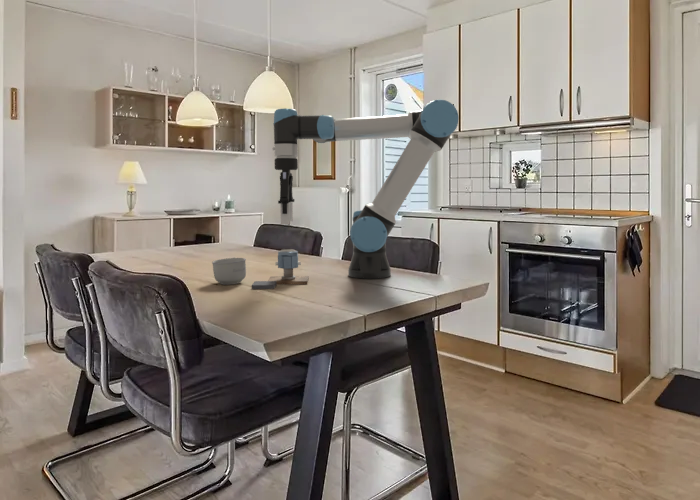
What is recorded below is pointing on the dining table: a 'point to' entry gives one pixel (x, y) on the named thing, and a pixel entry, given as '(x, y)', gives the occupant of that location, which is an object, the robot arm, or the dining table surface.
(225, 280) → the teacup
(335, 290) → the dining table surface
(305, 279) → the post board
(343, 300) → the dining table surface
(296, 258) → the cap
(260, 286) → the coaster
